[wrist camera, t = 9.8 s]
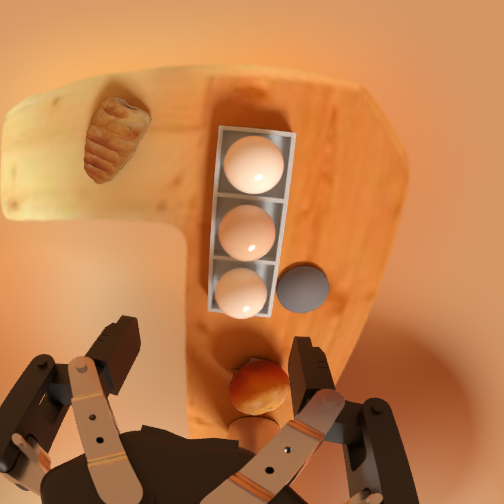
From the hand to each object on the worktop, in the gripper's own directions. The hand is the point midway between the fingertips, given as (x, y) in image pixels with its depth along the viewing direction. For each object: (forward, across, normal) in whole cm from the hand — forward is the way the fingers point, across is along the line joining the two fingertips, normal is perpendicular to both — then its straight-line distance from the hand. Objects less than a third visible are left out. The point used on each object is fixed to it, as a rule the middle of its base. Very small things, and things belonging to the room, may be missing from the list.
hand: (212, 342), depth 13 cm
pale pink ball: (+14, -1, -2) cm, 14 cm away
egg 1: (+14, -1, -8) cm, 16 cm away
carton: (+17, -1, -2) cm, 17 cm away
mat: (+17, -8, +5) cm, 20 cm away
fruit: (+18, -5, +19) cm, 26 cm away
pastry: (+18, +14, -10) cm, 25 cm away
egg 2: (+14, -1, +5) cm, 15 cm away
